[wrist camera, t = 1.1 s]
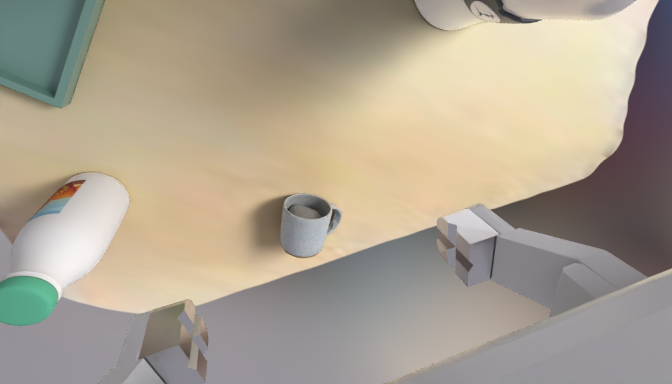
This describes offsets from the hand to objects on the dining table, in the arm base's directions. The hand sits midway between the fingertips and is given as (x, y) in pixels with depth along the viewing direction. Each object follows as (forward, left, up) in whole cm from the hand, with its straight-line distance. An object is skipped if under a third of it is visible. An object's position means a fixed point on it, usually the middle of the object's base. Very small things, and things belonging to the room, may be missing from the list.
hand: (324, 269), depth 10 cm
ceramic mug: (+15, +18, -39) cm, 45 cm away
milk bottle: (+25, -11, -38) cm, 47 cm away
